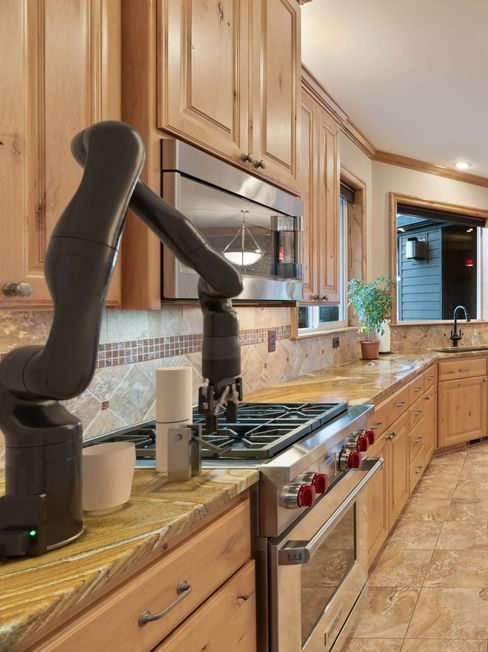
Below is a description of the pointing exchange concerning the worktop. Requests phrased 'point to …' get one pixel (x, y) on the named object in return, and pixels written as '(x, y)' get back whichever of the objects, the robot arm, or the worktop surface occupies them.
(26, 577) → the worktop surface
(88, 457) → the cup
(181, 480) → the bracket
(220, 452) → the lever
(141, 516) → the worktop surface
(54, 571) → the worktop surface
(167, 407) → the cylindrical container
